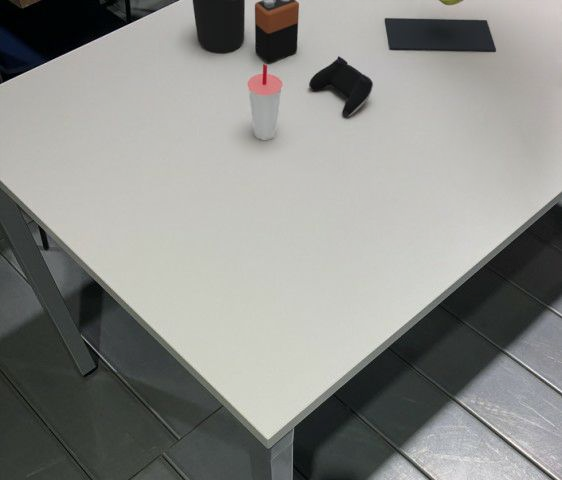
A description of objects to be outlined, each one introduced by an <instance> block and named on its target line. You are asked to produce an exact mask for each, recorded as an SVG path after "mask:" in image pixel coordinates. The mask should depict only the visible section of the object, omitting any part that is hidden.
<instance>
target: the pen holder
mask: <svg viewBox="0 0 562 480" xmlns="http://www.w3.org/2000/svg"><path fill="white" fill-rule="evenodd" d="M245 5H246V1H245V0H192V6H193V14H194V15H193V16H194V21H195V28H196V29H195V30H196V35H197V41H198V43H199V45H200V46H201V47H202V48H203V49H204V50H206V51H209V52H212V53H216V54H217V53H218V54H224V53H225V54H226V53H231V52H233V51H235V50H237V49H239V48H240V47H241V46H242V45H243V43H244V41H245V26H246V25H245V16H246V14H245V11H246V10H245V9H246V8H245V7H246V6H245Z"/></svg>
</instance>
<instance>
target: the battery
mask: <svg viewBox="0 0 562 480" xmlns="http://www.w3.org/2000/svg"><path fill="white" fill-rule="evenodd" d="M299 13H300V2H299V1H297V0H259V1H257V2H256V3H255V4H254V40H255V42H254V43H255V44H254V47H255V53H256V55H258V56H259V57H260V58H261V59H262V60H263V61H264V62H266V63H267V64H271V63H273V62H276V61H278V60H281V59H283V58H286V57H287V56H288V57H289V56H291V55H293V54H296V53H297V51H298V37H299V36H298V35H299V17H300V16H299V15H300V14H299Z"/></svg>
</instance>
